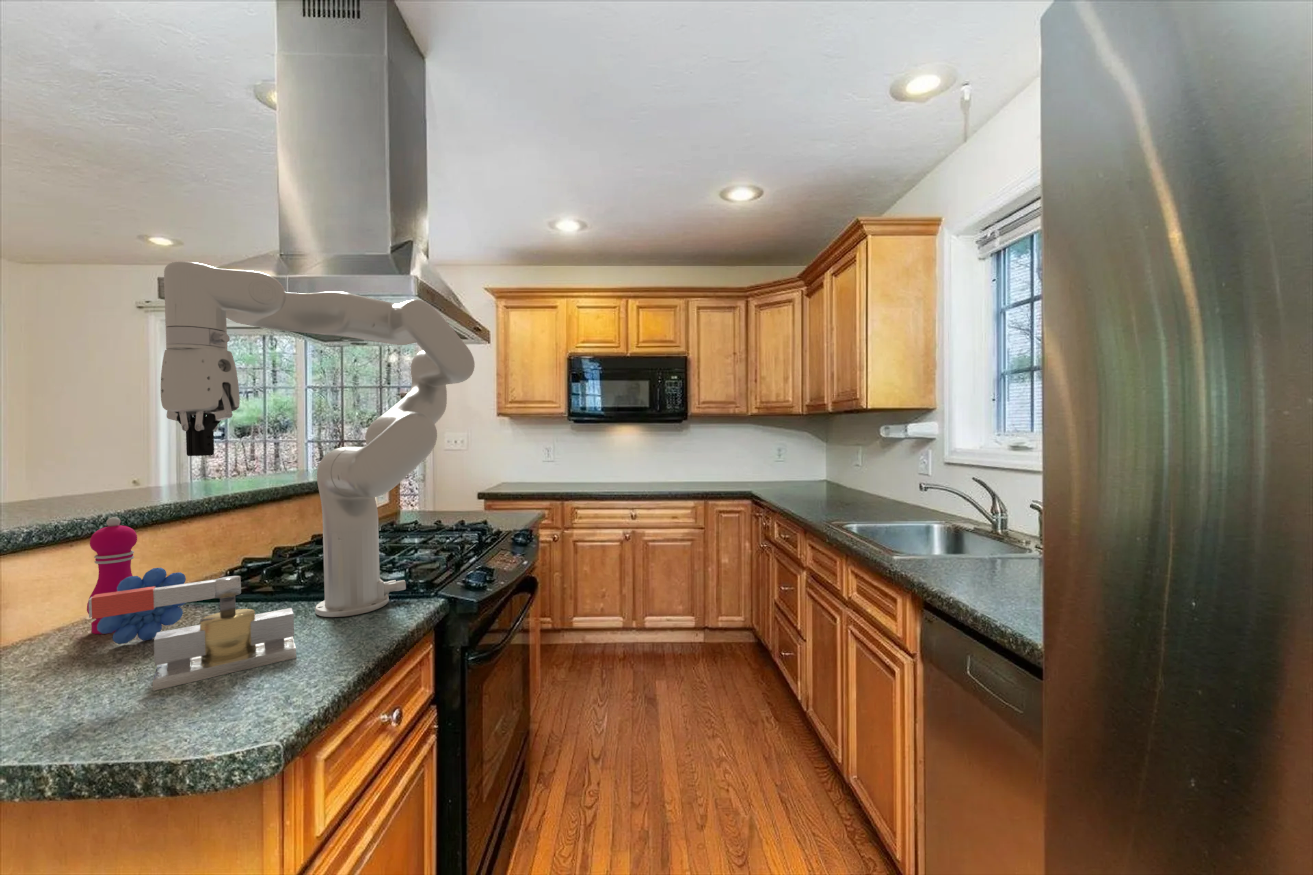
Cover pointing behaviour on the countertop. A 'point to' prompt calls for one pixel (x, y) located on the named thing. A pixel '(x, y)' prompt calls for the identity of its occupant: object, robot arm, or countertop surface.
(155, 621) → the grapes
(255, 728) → the countertop surface
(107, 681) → the countertop surface
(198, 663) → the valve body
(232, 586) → the valve lever
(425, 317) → the robot arm
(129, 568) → the pepper mill
